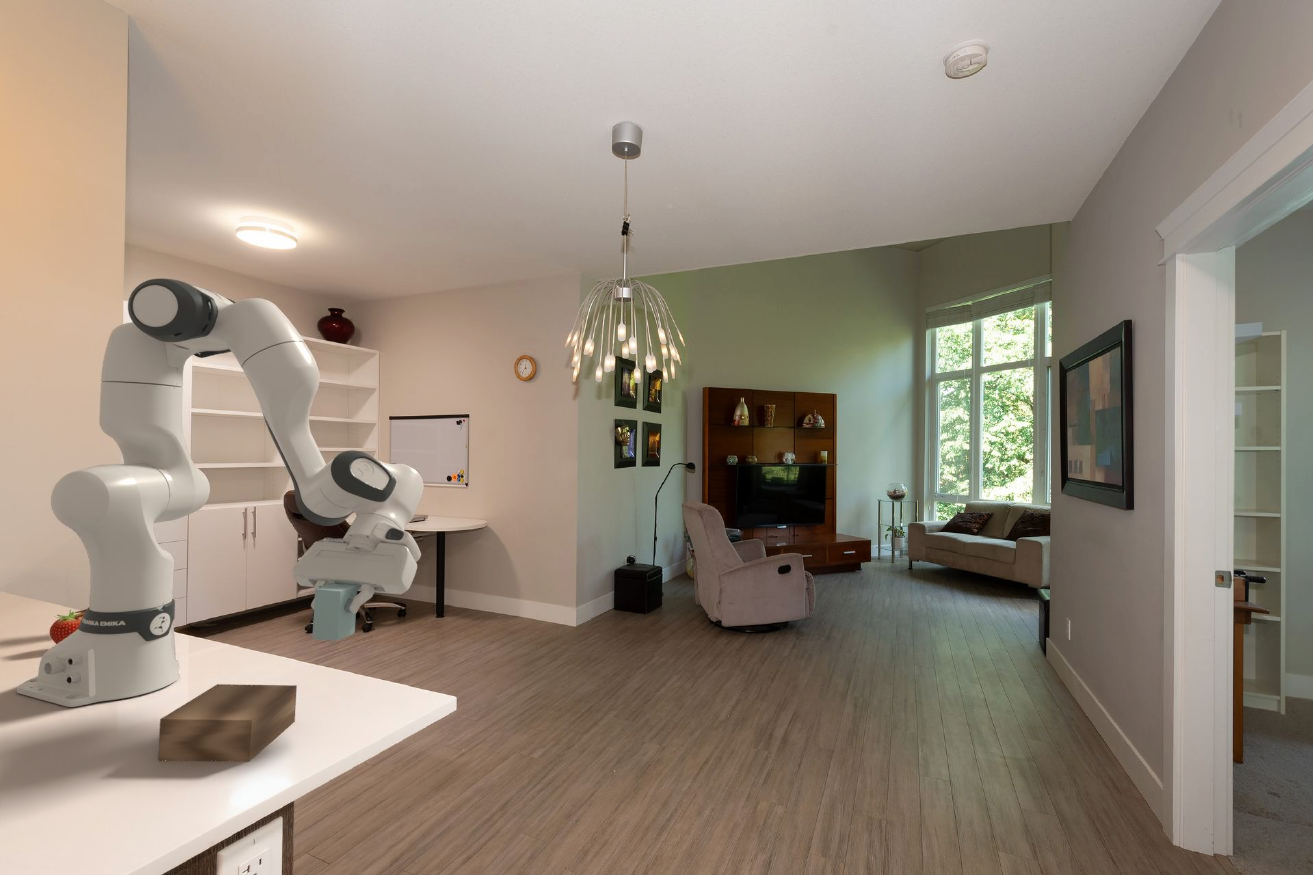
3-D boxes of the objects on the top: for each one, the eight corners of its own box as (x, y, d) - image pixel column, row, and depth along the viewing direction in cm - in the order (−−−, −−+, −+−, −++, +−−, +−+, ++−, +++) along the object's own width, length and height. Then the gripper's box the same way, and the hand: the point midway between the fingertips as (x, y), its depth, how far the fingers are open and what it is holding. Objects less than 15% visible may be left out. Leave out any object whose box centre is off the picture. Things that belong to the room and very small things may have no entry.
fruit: (67, 654, 118) (69, 613, 118) (41, 653, 118) (43, 612, 118) (93, 645, 123) (95, 606, 123) (68, 644, 123) (70, 605, 124)
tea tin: (312, 638, 97) (315, 589, 97) (330, 630, 101) (333, 583, 101) (337, 641, 96) (340, 591, 97) (354, 632, 101) (357, 585, 101)
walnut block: (157, 762, 82) (160, 719, 82) (215, 722, 94) (217, 684, 94) (249, 763, 83) (251, 720, 83) (294, 723, 95) (296, 685, 95)
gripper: (310, 526, 107) (265, 594, 97) (418, 534, 105) (383, 604, 95) (325, 547, 112) (284, 614, 102) (429, 555, 109) (397, 625, 99)
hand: (332, 610), depth 98 cm, fingers closed on tea tin, 4 cm apart
